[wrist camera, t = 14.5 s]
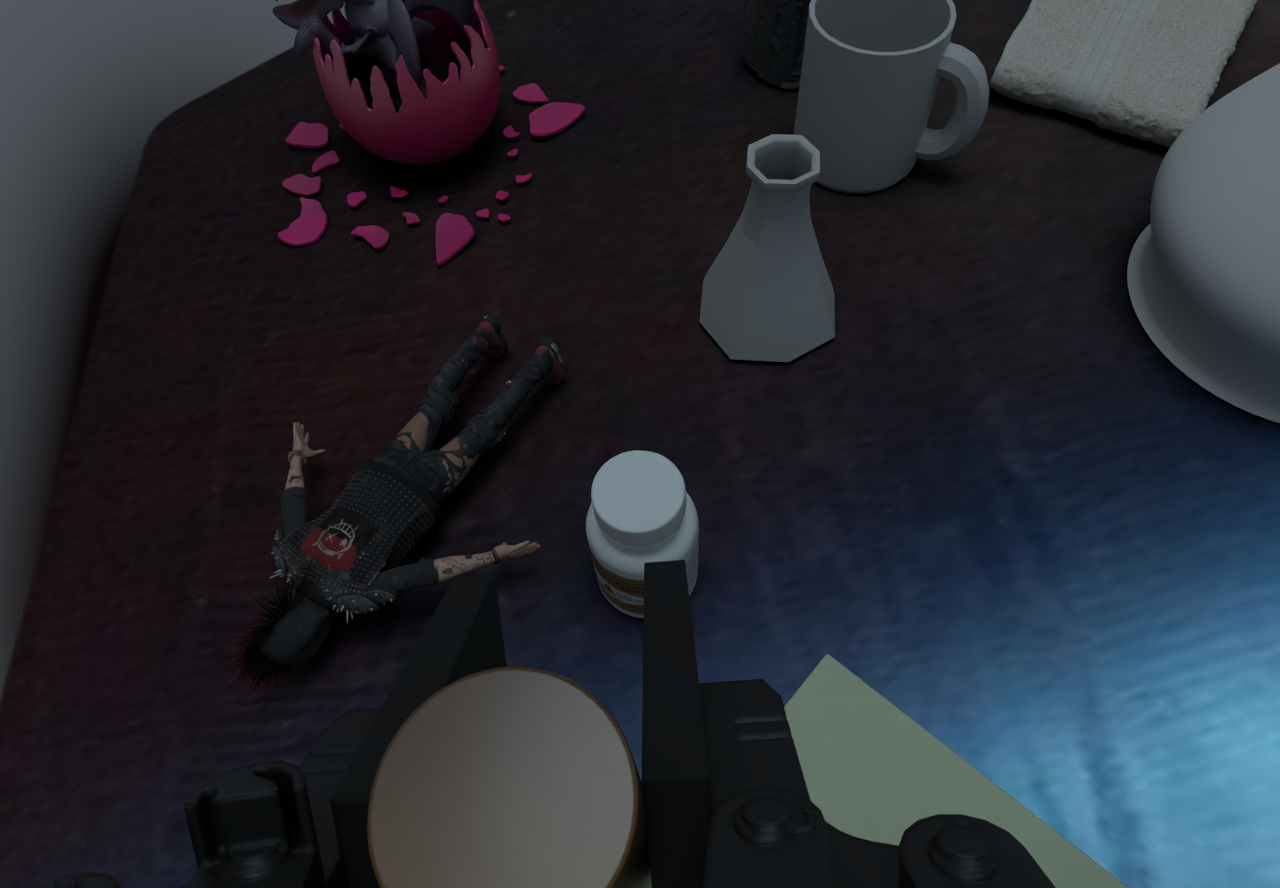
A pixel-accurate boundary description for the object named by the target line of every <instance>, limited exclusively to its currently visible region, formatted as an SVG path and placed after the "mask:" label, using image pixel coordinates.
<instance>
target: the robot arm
mask: <svg viewBox="0 0 1280 888" xmlns="http://www.w3.org/2000/svg"><path fill="white" fill-rule="evenodd" d="M500 667H507V665H506V657H505V649H504V642H503V634H502V626H501V619H500V611H499V603H498V595H497V588H496V580H495V574H484V575H471V576H457V577H454V578H453V580H452V582H451V584H450V586H449V587H448V589H447V591H446V593H445V595H444V596H443V598H442V600H441V602H440V604H439V605H438V607H437V609H436V611H435V613H434V614H433V616H432V618H431V620H430V621H429V623H428V625H427V627H426V629H425V630H424V632H423V634H422V636H421V638H420V639H419V641H418V643H417V645H416V647H415V648H414V650H413V652H412V654H411V656H410V657H409V659H408V661H407V663H406V664H405V666H404V668H403V670H402V672H401V673H400V675H399V677H398V679H397V681H396V682H395V684H394V686H393V688H392V690H391V691H390V693H389V695H388V697H387V699H386V700H385V702H384V704H383V706H382V707H381V708H375V709H361V710H348V711H347V712H346V713H344V714H343V715H342V716H340V717H339V718H338V719H336V720H335V721H334V722H333V723H331V724H330V725H329V726H327V727H326V728H325V729H324V730H323V731H322V732H321V734H320V735H319V737H318V738H317V740H316V741H315V743H314V744H313V746H312V748H311V749H310V751H309V756H306V757H305V758H304V760H303V761H302V763H301V764H300V766H299V767H298V766H297V765H294V764H291V763H287V762H284V761H263V762H257V763H253V764H249V765H245V766H240V767H237V768H235V769H232V770H230V771H228V772H225V773H223V774H221V775H218V776H216V777H214V778H213V779H211V780H210V781H208V782H207V783H205V784H204V785H202V786H201V787H199V788H198V789H196V790H195V791H194V793H193V794H192V795H191V796H190V797H189V798H188V799H187V800H186V802H185V803H184V804H183V805H184V810H185V814H186V818H187V822H188V826H189V831H190V835H191V839H192V843H193V848H194V852H195V856H196V860H197V865H198V867H197V869H196V871H195V873H194V875H193V877H192V879H191V881H190V883H189V884H188V885H185V886H182V887H179V888H380V887H379V885H378V882H377V879H376V876H375V874H374V871H373V868H372V863H371V859H370V854H369V849H368V838H367V814H368V806H369V799H370V793H371V789H372V786H373V782H374V778H375V775H376V772H377V770H378V767H379V765H380V762H381V760H382V757H383V755H384V753H385V752H386V750H387V748H388V746H389V744H390V742H391V740H392V739H393V737H394V736H395V735H396V733H397V732H398V730H399V729H400V727H401V726H402V725H403V723H404V722H405V721H406V720H407V719H408V718H409V717H410V715H411V714H412V713H413V712H414V711H415V710H416V709H417V708H418V707H419V706H420V705H421V704H423V703H424V702H425V701H426V700H427V699H428V698H430V697H431V696H432V695H434V694H435V693H436V692H438V691H439V690H441V689H442V688H444V687H446V686H447V685H449V684H451V683H453V682H455V681H456V680H458V679H461V678H463V677H466V676H468V675H471V674H473V673H477V672H480V671H484V670H488V669H493V668H500ZM642 787H643V798H644V804H645V819H646V830H647V841H648V852H649V863H650V873H651V884H652V888H1056V887H1055V886H1054V885H1053V883H1052V882H1051V881H1050V879H1049V878H1048V877H1047V875H1046V874H1045V873H1044V871H1043V870H1042V869H1041V868H1040V866H1039V865H1038V864H1037V862H1036V861H1035V860H1034V858H1033V857H1032V856H1031V854H1030V853H1029V852H1028V850H1027V849H1026V848H1025V847H1024V846H1023V845H1022V844H1021V843H1020V842H1019V841H1018V840H1017V839H1016V838H1015V837H1014V836H1013V835H1011V834H1010V833H1009V832H1008V831H1006V830H1004V829H1002V828H1000V827H999V826H997V825H995V824H993V823H991V822H989V821H987V820H983V819H979V818H975V817H971V816H966V815H962V814H937V815H934V816H930V817H927V818H923V819H920V820H917V821H916V822H915V823H914V824H912V825H911V826H910V827H908V828H907V829H906V830H905V831H904V833H903V835H902V838H901V841H900V844H899V846H898V845H892V844H886V843H880V842H874V841H869V840H866V839H862V838H858V837H854V836H852V835H849V834H847V833H845V832H842V831H840V830H838V829H836V828H835V827H833V826H832V825H831V824H829V823H828V822H826V821H825V819H824V817H823V814H822V812H821V810H820V809H819V808H818V807H817V806H816V805H815V804H814V803H813V802H812V801H811V800H810V796H809V793H808V789H807V786H806V782H805V779H804V775H803V772H802V768H801V765H800V761H799V758H798V754H797V751H796V747H795V744H794V740H793V737H792V735H791V730H790V726H789V723H788V720H787V716H786V712H785V709H784V705H783V702H782V698H781V696H780V695H779V694H778V693H777V692H776V691H775V690H774V689H773V688H771V687H770V686H769V685H768V684H767V683H766V682H765V681H764V680H763V679H756V680H742V681H727V682H713V683H699V681H698V672H697V663H696V654H695V645H694V636H693V627H692V618H691V609H690V601H689V592H688V583H687V574H686V565H685V560H674V561H661V562H647V563H644V628H643V717H642ZM38 888H120V886H119V884H118V883H117V882H116V881H115V880H114V879H113V878H112V877H111V876H109V875H104V874H99V873H86V874H78V875H71V876H68V877H64V878H60V879H58V880H56V881H55V880H54V881H51V882H48V883H46V884H43V885H41V886H40V887H38Z"/></svg>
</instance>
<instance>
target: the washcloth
mask: <svg viewBox="0 0 1280 888" xmlns="http://www.w3.org/2000/svg"><path fill="white" fill-rule="evenodd" d="M1256 2H1257V0H1032V2H1031V4H1030V6H1029V8H1028V10H1027V12H1026V14H1025V16H1024V17H1023V19H1022V21H1021V22H1020V24H1019V25H1018V26H1017V28H1016V30H1014V32H1013V34H1012V35H1011V38H1010V39H1009V40H1008V42H1007V44H1006V46H1005V49H1004V52H1003V54H1002V57H1001V59H1000V61H999V63H998V65H997V66H996V68H995V71H994V74H993V76H992V78H991V81H990V84H989V87H990V88H992V89H995V91H996V92H997V93H998V94H1003V96H1005V97H1009V98H1012V99H1016V100H1019V101H1021V102H1024V103H1027V104H1030V105H1036V106H1037V107H1041V108H1044V109H1055V110H1059V111H1063V112H1065V113H1067V114H1070V115H1076V116H1077V117H1079V118H1082V119H1088V120H1090V121H1092V122H1094V123H1095V124H1096V125H1097V126H1098V127H1099V128H1106V129H1109V130H1112V131H1115V132H1119V133H1123V134H1127V135H1131V136H1133V137H1135V138H1139V139H1141V140H1144V141H1150V142H1153V143H1155V144H1158V145H1163V146H1167V147H1171V146H1172V144H1173V143H1174V142H1175V140H1176V139H1177V138H1178V136H1179V135H1180V134H1181V133H1182V132H1183V131H1184V129H1185V128H1186V127H1187V126H1188V125H1189V124H1190V123H1191V122H1192V121H1193V120H1195V119H1196V118H1197V117H1198V116H1199V115H1200V114H1201V113H1203V112H1204V110H1205V108H1206V107H1207V103H1208V101H1209V97H1211V96H1212V95H1213V94H1214V90H1215V88H1216V87H1217V83H1218V82H1219V80H1220V74H1221V72H1222V71H1223V68H1224V66H1225V65H1226V64H1227V59H1228V57H1229V56H1231V55H1232V54H1233V51H1234V50H1235V49H1236V48H1235V45H1237V44H1236V42H1237V40H1238V39H1239V37H1240V35H1241V32H1242V31H1243V29H1244V26H1245V22H1246V21H1247V20H1248V19H1249V16H1250V14H1251V12H1252V11H1253V7H1254V6H1255V3H1256Z"/></svg>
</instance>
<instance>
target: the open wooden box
mask: <svg viewBox="0 0 1280 888" xmlns="http://www.w3.org/2000/svg"><path fill="white" fill-rule="evenodd" d="M367 838H368V849H369V854H370V859H371V863H372V868H373V871H374V874H375V876H376V879H377V882H378V885H379V887H380V888H652V884H651V873H650V863H649V852H648V841H647V830H646V819H645V804H644V798H643V787H642V782H641V779H640V776H639V773H638V770H637V767H636V764H635V761H634V758H633V755H632V752H631V750H630V747H629V745H628V742H627V740H626V737H625V735H624V734H623V732H622V730H621V728H620V726H619V725H618V723H617V721H616V720H615V719H614V717H613V716H612V715H611V713H610V712H609V710H608V709H607V708H606V707H605V706H604V705H603V704H602V703H601V702H600V701H599V700H598V699H597V698H596V697H595V696H594V695H593V694H591V693H590V692H589V691H588V690H586V689H585V688H584V687H582V686H581V685H579V684H577V683H575V682H574V681H572V680H570V679H569V678H566V677H564V676H561V675H559V674H556V673H554V672H550V671H546V670H542V669H539V668H531V667H522V666H520V667H500V668H493V669H488V670H484V671H480V672H477V673H473V674H471V675H468V676H466V677H463V678H461V679H458V680H456V681H455V682H453V683H451V684H449V685H447V686H446V687H444V688H442V689H441V690H439V691H438V692H436V693H435V694H434V695H432V696H431V697H430V698H428V699H427V700H426V701H425V702H424V703H423V704H421V705H420V706H419V707H418V708H417V709H416V710H415V711H414V712H413V713H412V714H411V715H410V717H409V718H408V719H407V720H406V721H405V722H404V723H403V725H402V726H401V727H400V729H399V730H398V732H397V733H396V735H395V736H394V737H393V739H392V740H391V742H390V744H389V746H388V748H387V750H386V752H385V753H384V755H383V757H382V760H381V762H380V765H379V767H378V770H377V772H376V775H375V778H374V782H373V786H372V789H371V793H370V799H369V806H368V814H367Z"/></svg>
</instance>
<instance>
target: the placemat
mask: <svg viewBox="0 0 1280 888" xmlns="http://www.w3.org/2000/svg"><path fill="white" fill-rule="evenodd" d="M784 709H785V712H786V716H787V720H788V723H789V726H790V730H791V735H792V737H793V740H794V744H795V747H796V751H797V754H798V758H799V761H800V765H801V768H802V772H803V775H804V779H805V782H806V786H807V789H808V793H809V796H810V800H811V801H812V802H813V803H814V804H815V805H816V806H817V807H818V808H819V809H820V810H821V812H822V814H823V817H824V819H825V821H826V822H828V823H829V824H831V825H832V826H833V827H835V828H836V829H838V830H840V831H842V832H845V833H847V834H849V835H852V836H854V837H858V838H862V839H866V840H869V841H874V842H880V843H886V844H892V845H898V846H899V844H900V841H901V838H902V835H903V833H904V831H905V830H906V829H907V828H908V827H910V826H911V825H912V824H914V823H915V822H916V821H917V820H920V819H923V818H927V817H930V816H934V815H937V814H962V815H966V816H971V817H975V818H979V819H983V820H987V821H989V822H991V823H993V824H995V825H997V826H999V827H1000V828H1002V829H1004V830H1006V831H1008V832H1009V833H1010V834H1011V835H1013V836H1014V837H1015V838H1016V839H1017V840H1018V841H1019V842H1020V843H1021V844H1022V845H1023V846H1024V847H1025V848H1026V849H1027V850H1028V852H1029V853H1030V854H1031V856H1032V857H1033V858H1034V860H1035V861H1036V862H1037V864H1038V865H1039V866H1040V868H1041V869H1042V870H1043V871H1044V873H1045V874H1046V875H1047V877H1048V878H1049V879H1050V881H1051V882H1052V883H1053V885H1054V886H1055V887H1056V888H1128V887H1127V886H1126V885H1124V884H1123V883H1122V882H1121V881H1119V880H1118V879H1117V878H1115V877H1114V876H1113V875H1112V874H1110V873H1109V872H1108V871H1106V870H1105V869H1104V868H1103V867H1101V866H1100V865H1099V864H1097V863H1096V862H1095V861H1094V860H1092V859H1091V858H1090V857H1088V856H1087V855H1086V854H1085V853H1083V852H1082V851H1081V850H1079V849H1078V848H1077V847H1076V846H1074V845H1073V844H1072V843H1070V842H1069V841H1068V840H1067V839H1065V838H1064V837H1063V836H1061V835H1060V834H1059V833H1058V832H1056V831H1055V830H1054V829H1052V828H1051V827H1050V826H1049V825H1047V824H1046V823H1045V822H1043V821H1042V820H1041V819H1040V818H1038V817H1037V816H1036V815H1034V814H1033V813H1032V812H1031V811H1029V810H1028V809H1027V808H1025V807H1024V806H1023V805H1022V804H1020V803H1019V802H1018V801H1016V800H1015V799H1014V798H1013V797H1011V796H1010V795H1009V794H1007V793H1006V792H1005V791H1004V790H1002V789H1001V788H1000V787H998V786H997V785H996V784H995V783H993V782H992V781H991V780H989V779H988V778H987V777H986V776H984V775H983V774H982V773H980V772H979V771H978V770H977V769H975V768H974V767H973V766H971V765H970V764H969V763H968V762H966V761H965V760H964V759H962V758H961V757H960V756H959V755H957V754H956V753H955V752H953V751H952V750H951V749H950V748H948V747H947V746H946V745H944V744H943V743H942V742H941V741H939V740H938V739H937V738H935V737H934V736H933V735H932V734H930V733H929V732H928V731H926V730H925V729H924V728H923V727H921V726H920V725H919V724H917V723H916V722H915V721H914V720H912V719H911V718H910V717H908V716H907V715H906V714H905V713H903V712H902V711H901V710H899V709H898V708H897V707H896V706H894V705H893V704H892V703H890V702H889V701H888V700H887V699H885V698H884V697H883V696H881V695H880V694H879V693H878V692H876V691H875V690H874V689H872V688H871V687H870V686H869V685H867V684H866V683H865V682H863V681H862V680H861V679H860V678H858V677H857V676H856V675H854V674H853V673H852V672H851V671H849V670H848V669H847V668H845V667H844V666H843V665H842V664H840V663H839V662H838V661H836V660H835V659H834V658H833V657H831V656H830V655H829V654H826V655H825V656H824V657H823V659H822V660H821V661H820V662H819V664H818V665H817V666H816V667H815V669H814V670H813V671H812V672H811V674H810V675H809V676H808V677H807V679H806V680H805V681H804V682H803V684H802V685H801V686H800V687H799V689H798V690H797V691H796V692H795V694H794V695H793V696H792V697H791V699H790V700H789V701H788V703H787V704H786V705H785V706H784Z"/></svg>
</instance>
